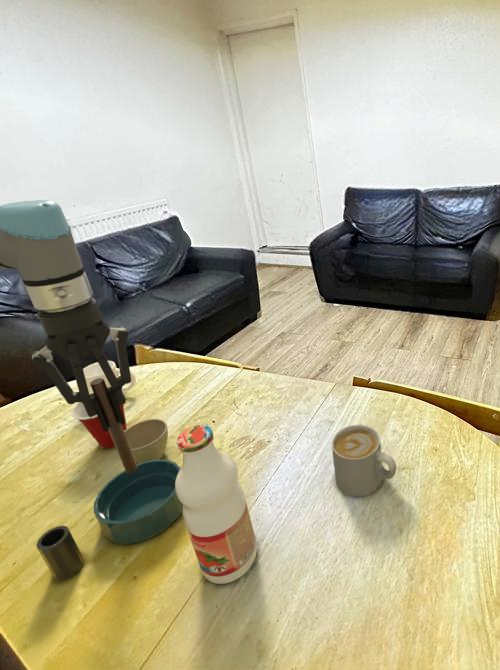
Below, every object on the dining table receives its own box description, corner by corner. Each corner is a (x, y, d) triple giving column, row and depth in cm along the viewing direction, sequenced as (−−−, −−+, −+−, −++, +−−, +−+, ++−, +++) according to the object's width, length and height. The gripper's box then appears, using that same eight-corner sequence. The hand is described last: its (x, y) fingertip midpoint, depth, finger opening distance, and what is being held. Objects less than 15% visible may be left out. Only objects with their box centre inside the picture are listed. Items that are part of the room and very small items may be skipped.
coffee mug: (326, 483, 87) (321, 446, 83) (355, 453, 94) (352, 418, 90) (377, 512, 80) (375, 474, 76) (404, 478, 87) (403, 441, 83)
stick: (123, 473, 77) (87, 384, 69) (130, 465, 79) (95, 377, 71) (133, 473, 77) (98, 384, 69) (139, 465, 79) (106, 378, 71)
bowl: (84, 544, 76) (73, 522, 74) (135, 479, 90) (127, 458, 88) (162, 548, 75) (153, 525, 73) (202, 481, 89) (195, 460, 86)
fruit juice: (265, 563, 72) (235, 438, 60) (210, 598, 67) (165, 469, 55) (247, 525, 79) (217, 406, 67) (196, 553, 74) (154, 431, 62)
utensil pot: (47, 580, 70) (29, 549, 67) (67, 555, 75) (51, 524, 71) (71, 581, 70) (54, 550, 67) (90, 556, 74) (75, 525, 71)
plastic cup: (82, 441, 102) (65, 402, 97) (130, 420, 109) (116, 382, 104) (92, 464, 95) (74, 423, 90) (143, 439, 101) (129, 400, 97)
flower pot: (158, 436, 102) (150, 413, 99) (183, 450, 97) (176, 427, 95) (117, 463, 95) (107, 439, 92) (142, 480, 90) (133, 455, 87)
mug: (142, 384, 123) (132, 355, 119) (137, 400, 116) (127, 369, 112) (96, 394, 120) (84, 364, 116) (88, 411, 113) (75, 380, 108)
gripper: (3, 327, 57) (65, 456, 66) (125, 296, 66) (164, 414, 75) (3, 311, 62) (60, 433, 72) (116, 284, 71) (153, 396, 80)
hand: (113, 423), depth 73 cm, fingers closed on stick, 2 cm apart
